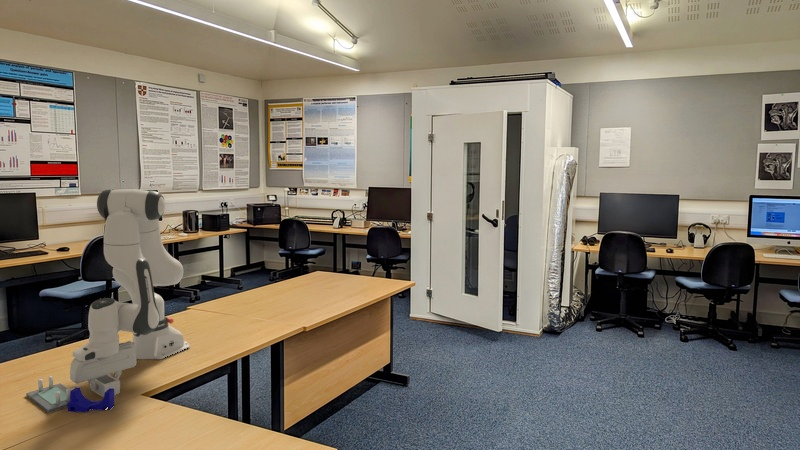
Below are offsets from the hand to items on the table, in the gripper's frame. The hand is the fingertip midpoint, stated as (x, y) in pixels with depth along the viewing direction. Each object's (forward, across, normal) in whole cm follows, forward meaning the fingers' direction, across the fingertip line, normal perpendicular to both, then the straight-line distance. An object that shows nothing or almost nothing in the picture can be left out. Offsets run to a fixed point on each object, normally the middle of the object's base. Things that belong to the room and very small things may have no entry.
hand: (105, 386), depth 178 cm
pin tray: (+2, +13, -6) cm, 14 cm away
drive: (+2, 0, 0) cm, 2 cm away
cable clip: (+2, +8, +9) cm, 12 cm away
